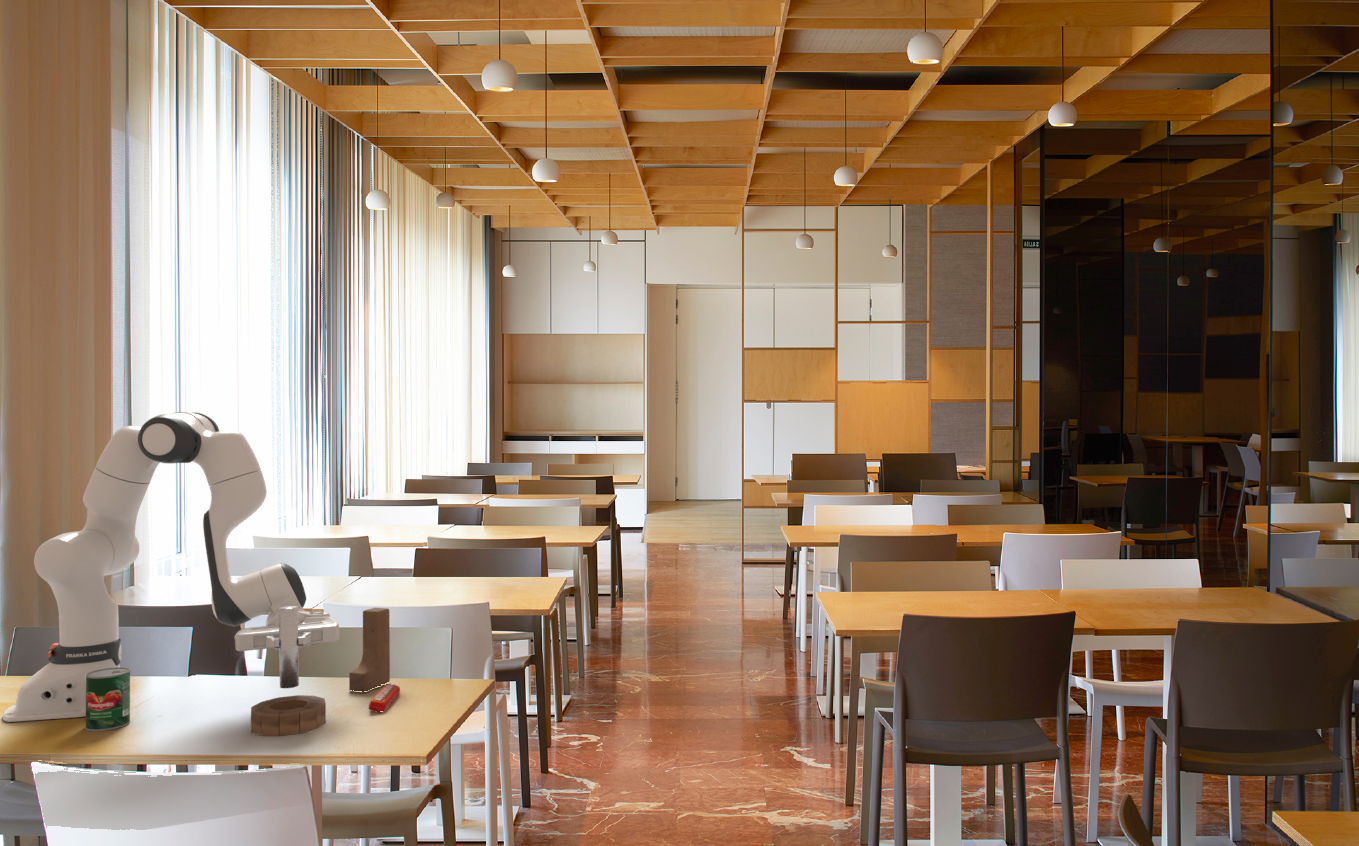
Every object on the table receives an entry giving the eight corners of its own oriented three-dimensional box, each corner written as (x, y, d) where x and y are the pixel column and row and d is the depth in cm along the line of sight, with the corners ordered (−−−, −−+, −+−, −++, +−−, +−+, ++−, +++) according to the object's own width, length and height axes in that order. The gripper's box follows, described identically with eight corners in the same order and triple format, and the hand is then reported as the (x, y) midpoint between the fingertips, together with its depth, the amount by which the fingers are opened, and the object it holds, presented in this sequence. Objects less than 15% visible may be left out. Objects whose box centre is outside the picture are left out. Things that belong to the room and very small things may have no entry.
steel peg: (279, 689, 187) (278, 610, 187) (279, 684, 190) (278, 607, 190) (299, 686, 188) (298, 608, 189) (298, 682, 192) (297, 605, 192)
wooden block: (363, 693, 212) (363, 615, 212) (348, 691, 213) (348, 613, 214) (390, 683, 220) (390, 608, 220) (375, 682, 222) (375, 607, 222)
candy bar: (383, 715, 196) (383, 701, 196) (366, 715, 196) (366, 701, 196) (401, 694, 212) (401, 681, 212) (385, 694, 212) (385, 681, 212)
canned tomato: (86, 734, 184) (86, 679, 185) (84, 724, 191) (84, 671, 191) (132, 726, 189) (132, 672, 189) (128, 717, 195) (128, 665, 196)
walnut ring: (250, 739, 180) (250, 719, 180) (251, 719, 193) (251, 700, 193) (327, 729, 186) (327, 709, 186) (323, 710, 198) (323, 692, 198)
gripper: (234, 620, 197) (232, 632, 184) (336, 611, 205) (340, 622, 193) (235, 650, 197) (232, 664, 184) (336, 639, 205) (341, 652, 193)
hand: (288, 642), depth 189 cm, fingers closed on steel peg, 4 cm apart
